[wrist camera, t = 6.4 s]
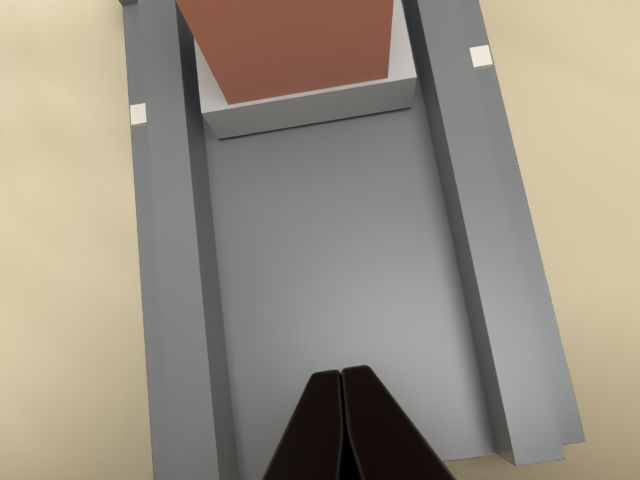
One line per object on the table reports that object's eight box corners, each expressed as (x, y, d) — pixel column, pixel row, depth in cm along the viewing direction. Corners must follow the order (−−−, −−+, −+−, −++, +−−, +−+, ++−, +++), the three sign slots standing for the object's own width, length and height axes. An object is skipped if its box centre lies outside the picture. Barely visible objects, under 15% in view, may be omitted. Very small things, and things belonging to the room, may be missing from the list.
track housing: (567, 436, 14) (647, 460, 10) (171, 492, 15) (98, 535, 11) (452, -53, 18) (477, -177, 14) (136, 3, 19) (71, -102, 14)
